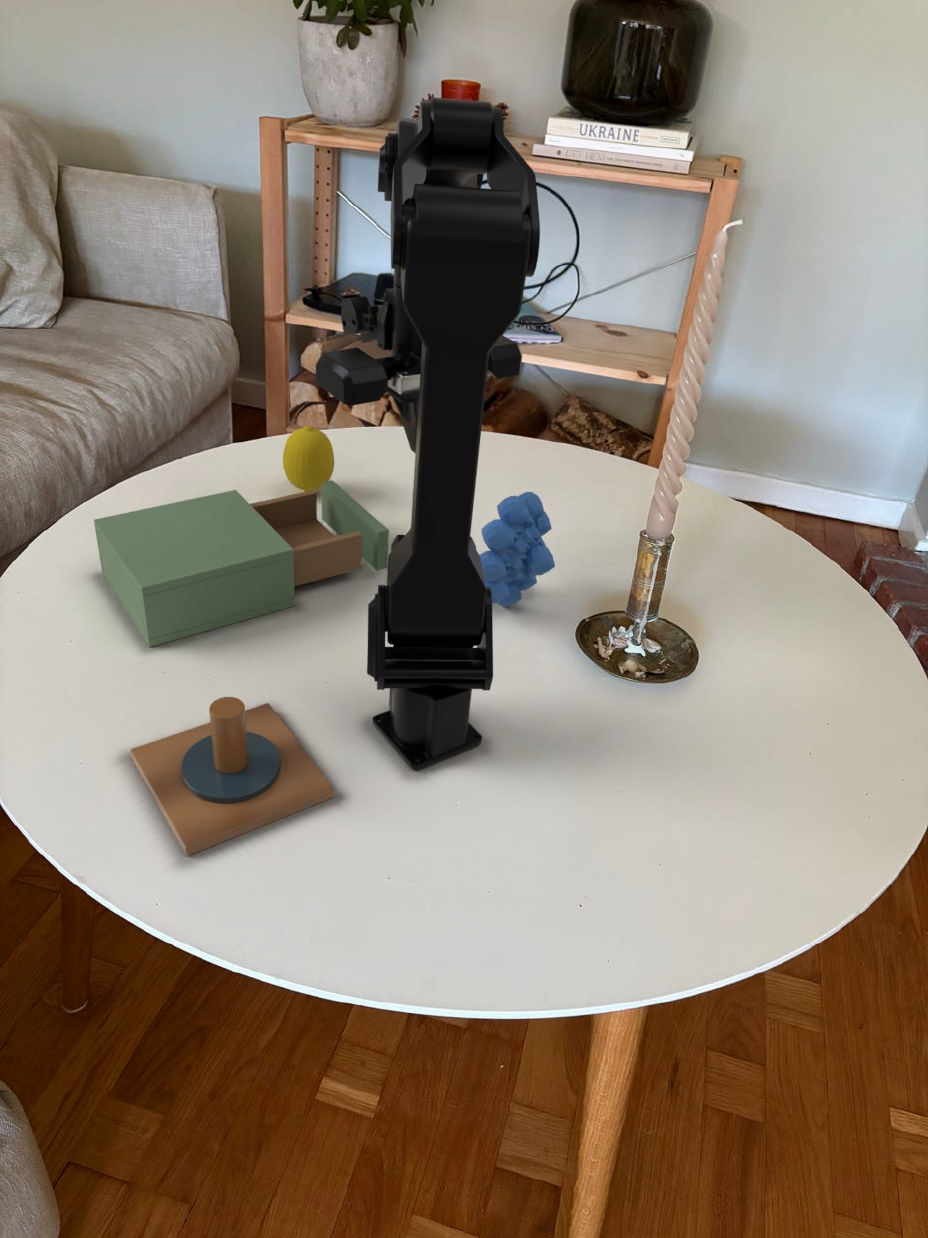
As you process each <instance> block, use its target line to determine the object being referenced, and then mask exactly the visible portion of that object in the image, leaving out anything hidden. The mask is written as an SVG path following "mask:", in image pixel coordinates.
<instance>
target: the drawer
mask: <svg viewBox="0 0 928 1238" xmlns="http://www.w3.org/2000/svg"><path fill="white" fill-rule="evenodd" d="M317 500H318V493H317V492H316V490H311V491H306V492H305V491H302V492H297V493H293V494H288V495H284V496H280V497H275V498H270V499H266V500H261V501H256V502H253V503H249V504H250V505H251V506H252V507H253V508H254V509H255V510H256V511H257V512H258V513H259V514H260V515H261V516H262V517H263V518H264V519H265V520H266V521H267V523H268V524H269V525H270V526H271V527H272V528H273V529H274V530H275V531H276V532H277V533H278V534H279V535H280V536H281V537H282V538H283V539H284V540H285V541H286V542H287V543H288V544H289V545H290V546H291V547H292V548H293V549H294V588H295V587H299V586H302V585H305V584H310V583H313V582H316V581H319V580H320V581H321V580H323V579H328V578H330V577H335V576H337V575H338V576H339V575H342V574H346V573H350V572H352V571H356V570H359V569H362V559H363V560H364V561H365V562H366V563H368V564H369V565H370V566H371V567H372V568H373V569H374V570H375V571H377V572H379V571H382V570H387V569H388V556H389V536H390V535H389V533H390V530H389V528H387V527H386V526H385V525H384V524H383V523H382V522H380V521H379V520H378V519H377V518H376V517H375V516H374V515H372V514H371V513H370V512H369V511H368V510H367V509H366V508H364V506H362V505H361V504H360V503H359V502H358V501H357V500H355V499H354V498H353V497H352V496H351V495H350V494H348V493H347V491H346V490H344V489H343V488H342V487H340V486H339V484H337V483H336V481H334V480H333V479H330V480H329V481H327V482H322V488H321V520H322V521H323V522H324V523H325V524H327V526H329V527H330V528H331V530H333V531H334V532H335V533H336V534H337V535H336V536H335V534H333V533H332V532H331V530H329V529H328V528H327V527H326V526H325V525H324V524H323V523H322V522H321V521H320V520H318V501H317Z"/></svg>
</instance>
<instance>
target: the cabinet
mask: <svg viewBox="0 0 928 1238" xmlns="http://www.w3.org/2000/svg"><path fill="white" fill-rule="evenodd" d="M250 504H251V503H249V502H248V500H247V499H246V498H245V497H243V495H242V494H240V492H239V491H238V490H237V489H233V490H228V491H222V492H218V493H213V494H209V495H205V496H200V497H199V496H198V497H195V498H190V499H185V500H180V501H176V502H172V503H170V502H169V503H166V504H162V505H156V506H152V507H146V508H143V509H139V510H138V509H137V510H133V511H128V512H124V513H119V514H114V515H109V516H105V517H104V516H103V517H100V518H95V519H93V523H94V531H95V536H96V542H97V549H98V550H97V551H98V556H99V561H100V568H101V574H102V578H103V579H104V581H105V582H106V583H107V586H108V587H109V588H110V590H111V591H112V593H113V595H115V597H116V598H117V600H118V602H119V604H120V605H121V607H122V608H123V609H124V610H125V612H126V614H127V615H128V617H129V618H130V620H131V621H132V623H133V625H134V626H135V628H136V629H137V631H138V633H140V635H141V637H142V639H143V640H144V641H145V643H146V644H147V646H148V647H149V648H153V647H156V646H160V645H163V644H167V643H170V642H173V641H177V640H181V639H184V638H187V637H191V636H194V635H197V634H201V633H204V632H209V631H212V630H216V629H218V628H222V627H226V626H229V625H233V624H237V623H241V622H243V621H246V620H250V619H255V618H258V617H261V616H264V615H268V614H271V613H276V612H278V611H282V610H285V609H289V608H292V607H295V606H296V603H295V602H296V601H295V600H296V599H295V597H296V596H295V587H294V549H293V548H292V547H291V546H290V545H289V544H288V543H287V542H286V541H285V540H284V539H283V538H282V537H281V536H280V535H279V534H278V533H277V532H276V531H275V530H274V529H273V528H272V527H271V526H270V525H269V524H268V523H267V521H266V520H265V519H264V518H263V517H262V516H261V515H260V514H259V513H258V512H257V511H256V510H255V509H254V508H253V507H252V506H251V505H250Z"/></svg>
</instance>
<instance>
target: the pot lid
mask: <svg viewBox="0 0 928 1238" xmlns="http://www.w3.org/2000/svg"><path fill="white" fill-rule="evenodd" d="M208 711H209V712H208V713H209V723H210V725H211V735H210V736H207V737H205V738H203V739H201V740H200V741H198V742H196V743H195V744H194V745H193V746H192V747H191V748H190V749H189V750H188V751H187V752H186V754H185V756H184V758H183V760H182V763H181V775H182V779H183V782H184V784H185V786H186V787H187V789H188V790H189V791H190V792H191V793H193V794H194V795H195V796H197V797H199V798H201V799H203V800H206V801H210V802H214V803H237V802H242V801H246V800H249V799H252V798H254V797H257V796H259V795H260V794H262V793H264V792H265V791H266V790H268V789H269V788H270V787H271V786H272V785H273V784H274V782H275V781H276V779H277V778H278V776H279V773H280V769H281V759H280V754H279V752H278V750H277V748H276V747H275V745H274V744H273V743H272V742H271V741H269V740H268V739H267V738H265V737H263V736H261V735H259V734H256V733H252V732H248V731H246V717H245V711H246V706H245V703H244V702H243V701H242V700H241V699H240V698H238V697H235V696H223V697H219V698H216V699H215V700H213V702H211V704H210V705H209V708H208Z"/></svg>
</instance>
